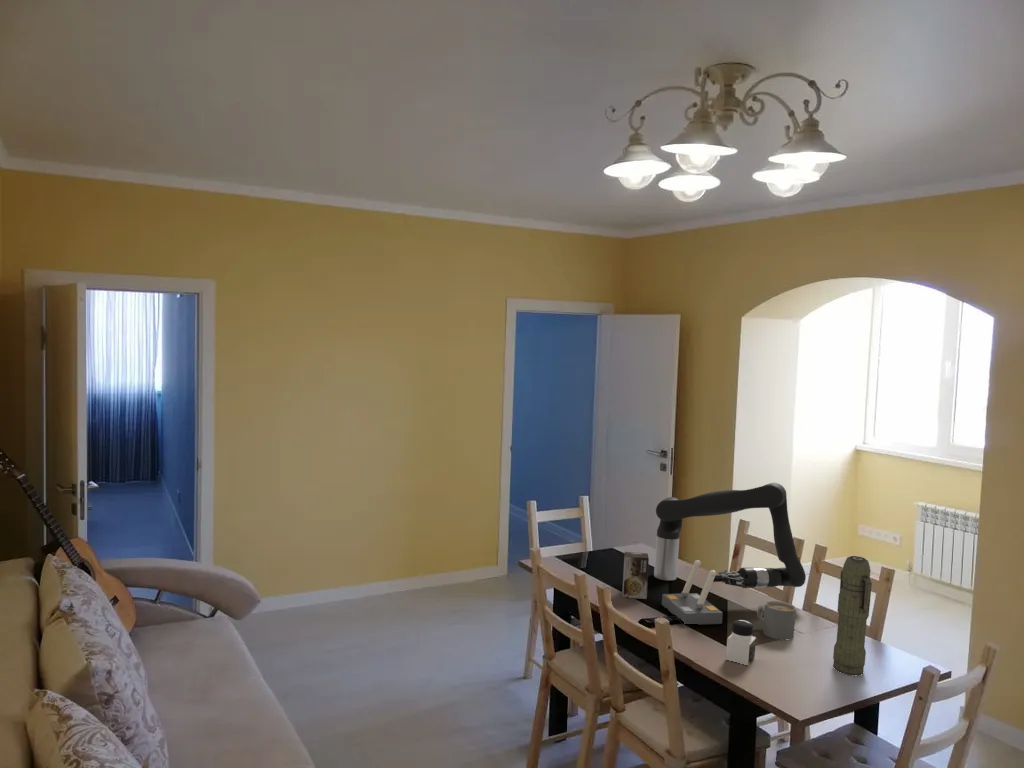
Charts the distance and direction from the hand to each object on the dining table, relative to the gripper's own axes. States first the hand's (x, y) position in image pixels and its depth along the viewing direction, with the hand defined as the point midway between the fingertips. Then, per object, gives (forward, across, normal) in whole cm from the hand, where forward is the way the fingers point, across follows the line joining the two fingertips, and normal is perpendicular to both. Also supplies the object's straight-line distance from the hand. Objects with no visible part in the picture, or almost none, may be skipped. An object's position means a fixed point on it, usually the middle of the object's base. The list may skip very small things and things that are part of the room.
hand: (711, 578), depth 287 cm
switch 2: (+10, +12, +6) cm, 17 cm away
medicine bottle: (+12, +45, +11) cm, 48 cm away
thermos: (-19, +55, +11) cm, 59 cm away
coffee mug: (-12, +25, +11) cm, 30 cm away
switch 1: (+10, 0, +6) cm, 12 cm away
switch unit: (+10, +6, +11) cm, 16 cm away
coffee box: (+24, -14, +11) cm, 30 cm away
